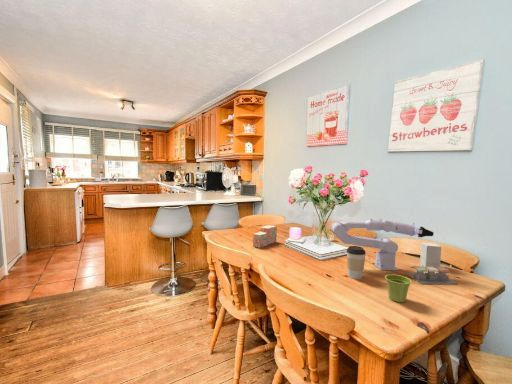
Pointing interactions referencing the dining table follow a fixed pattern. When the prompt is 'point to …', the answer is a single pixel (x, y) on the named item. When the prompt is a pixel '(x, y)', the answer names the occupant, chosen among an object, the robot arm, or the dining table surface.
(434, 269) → the key cream
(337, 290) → the dining table surface
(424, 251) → the supplement box
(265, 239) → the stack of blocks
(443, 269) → the key terracotta
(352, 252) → the coffee cup
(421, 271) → the key sage
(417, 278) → the keypad base
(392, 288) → the plant pot
